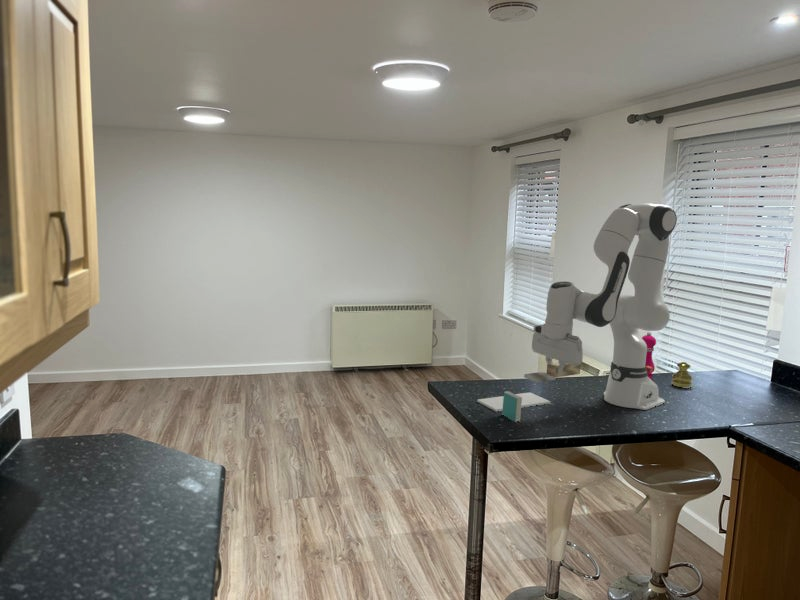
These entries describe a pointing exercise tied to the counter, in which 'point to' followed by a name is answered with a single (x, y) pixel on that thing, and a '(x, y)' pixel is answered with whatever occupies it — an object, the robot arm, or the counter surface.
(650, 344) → the pepper mill
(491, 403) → the board
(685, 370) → the gold ridged bell shape
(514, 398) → the tile
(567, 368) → the wooden handled scraper
